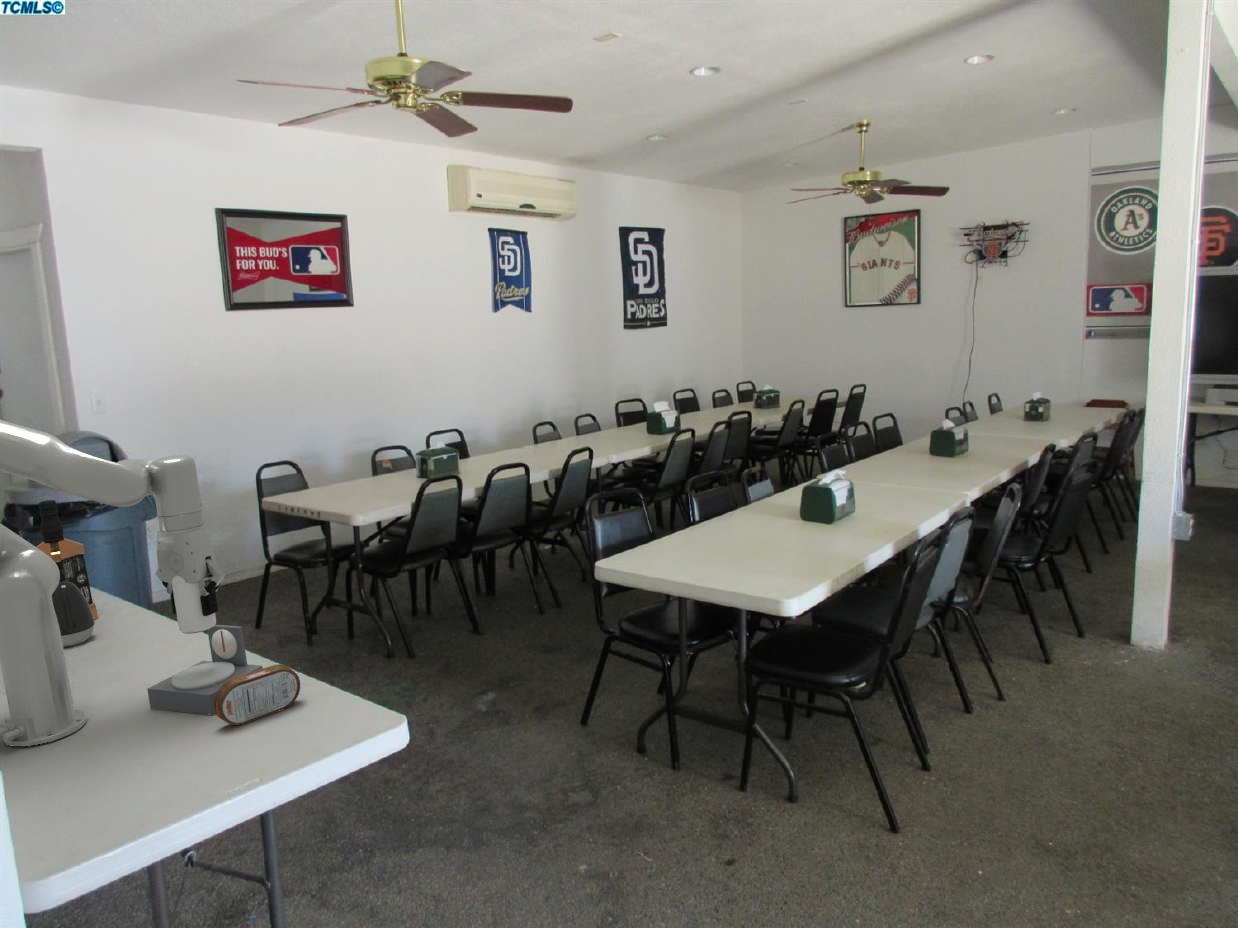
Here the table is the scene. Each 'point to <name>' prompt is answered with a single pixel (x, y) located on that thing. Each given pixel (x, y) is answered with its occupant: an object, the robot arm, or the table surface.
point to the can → (190, 607)
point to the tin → (256, 694)
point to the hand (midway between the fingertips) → (195, 612)
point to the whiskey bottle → (64, 551)
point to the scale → (204, 675)
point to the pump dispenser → (72, 614)
